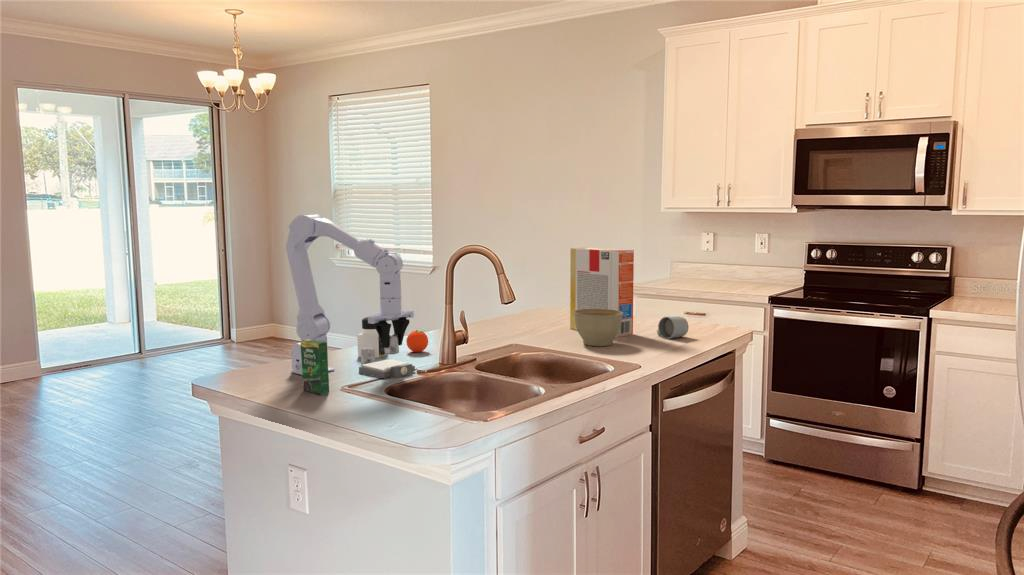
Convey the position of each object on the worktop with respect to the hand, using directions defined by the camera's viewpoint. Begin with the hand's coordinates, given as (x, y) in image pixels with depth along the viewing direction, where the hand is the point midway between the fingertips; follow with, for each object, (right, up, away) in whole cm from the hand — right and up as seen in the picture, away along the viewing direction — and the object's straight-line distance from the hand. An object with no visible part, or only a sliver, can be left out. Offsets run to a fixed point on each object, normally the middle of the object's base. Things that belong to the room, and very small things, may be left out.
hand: (392, 346), depth 206 cm
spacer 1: (-9, -7, +11) cm, 15 cm away
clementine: (+4, -4, +30) cm, 31 cm away
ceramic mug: (+88, -1, +53) cm, 103 cm away
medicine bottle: (-10, -5, +25) cm, 28 cm away
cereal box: (+66, 0, +65) cm, 92 cm away
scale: (-1, -8, +2) cm, 8 cm away
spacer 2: (0, -2, +1) cm, 2 cm away
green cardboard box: (-16, -10, -19) cm, 27 cm away
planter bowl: (+62, -3, +41) cm, 74 cm away
